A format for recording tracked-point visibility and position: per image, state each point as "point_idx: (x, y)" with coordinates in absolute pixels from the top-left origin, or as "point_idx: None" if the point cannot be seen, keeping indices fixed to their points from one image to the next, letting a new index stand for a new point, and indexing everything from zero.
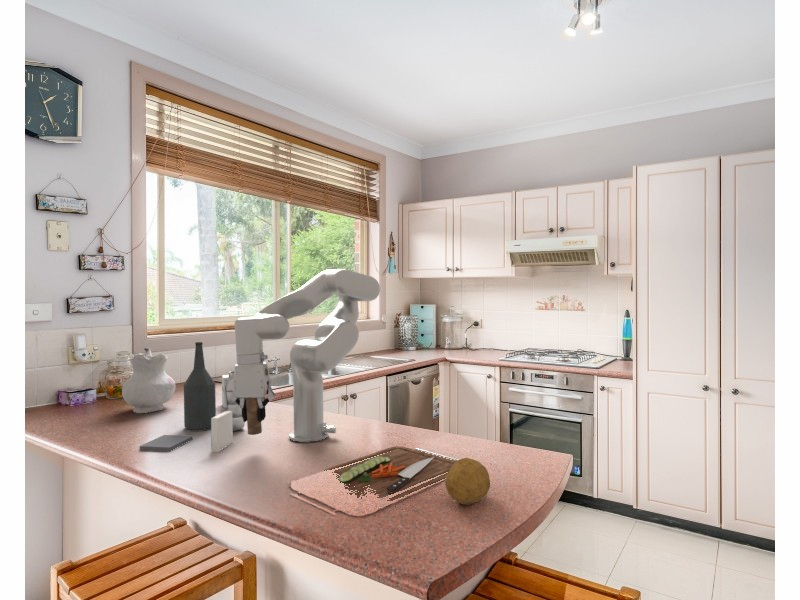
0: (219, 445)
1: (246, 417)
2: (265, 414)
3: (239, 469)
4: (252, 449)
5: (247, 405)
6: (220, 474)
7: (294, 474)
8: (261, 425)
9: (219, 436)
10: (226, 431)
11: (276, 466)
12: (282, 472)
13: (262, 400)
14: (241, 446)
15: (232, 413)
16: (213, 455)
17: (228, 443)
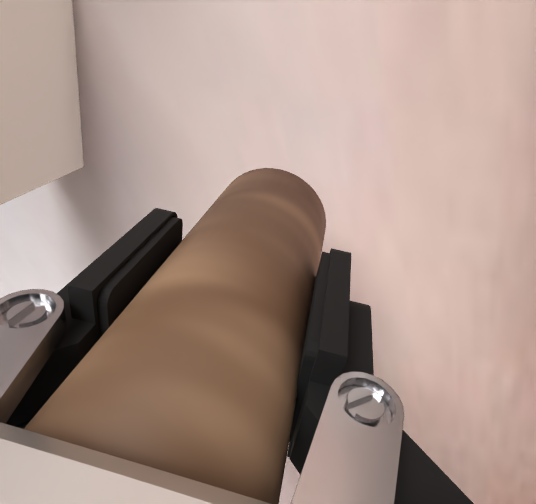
0: (62, 159)
1: None
2: (370, 317)
3: None
4: (261, 135)
5: None
6: None
7: (515, 472)
8: (320, 239)
9: (23, 173)
10: (1, 64)
11: (436, 393)
12: (465, 449)
13: (329, 479)
14: (168, 63)
15: None
16: (92, 222)
17: (66, 33)
